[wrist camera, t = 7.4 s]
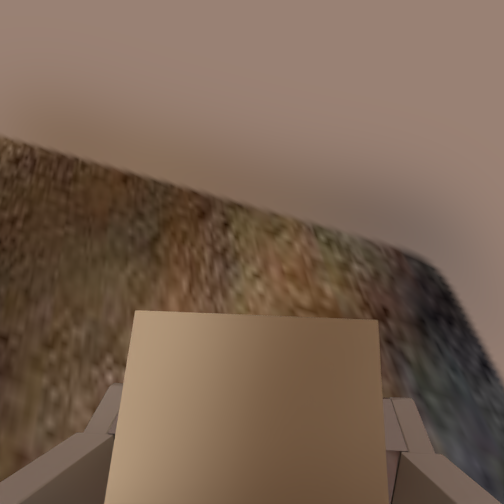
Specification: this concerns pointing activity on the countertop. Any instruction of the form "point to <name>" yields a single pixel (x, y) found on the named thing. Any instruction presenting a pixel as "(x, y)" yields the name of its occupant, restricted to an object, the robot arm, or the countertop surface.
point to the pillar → (250, 412)
